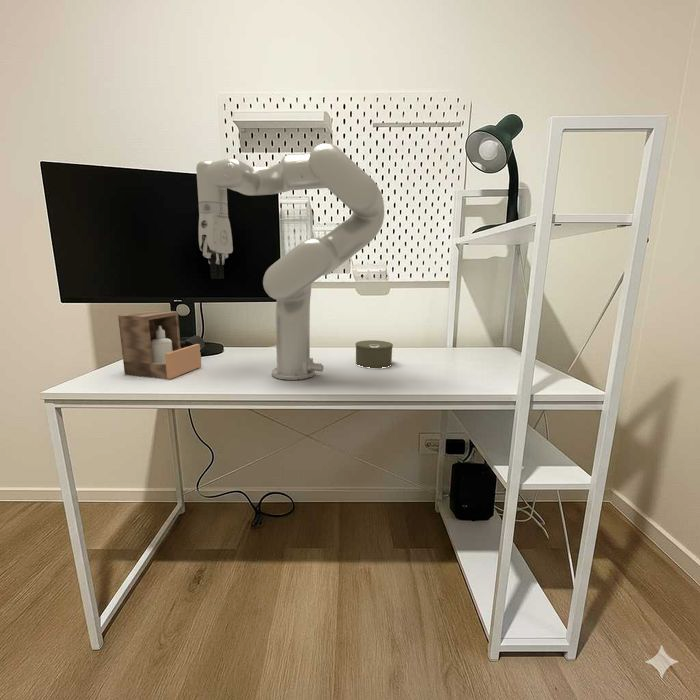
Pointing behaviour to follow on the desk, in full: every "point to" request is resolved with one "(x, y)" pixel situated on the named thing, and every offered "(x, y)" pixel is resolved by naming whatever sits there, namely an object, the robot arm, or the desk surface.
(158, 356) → the eye dropper bottle
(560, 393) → the desk surface
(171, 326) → the cabinet
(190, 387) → the desk surface
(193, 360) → the drawer
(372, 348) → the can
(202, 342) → the end cap
